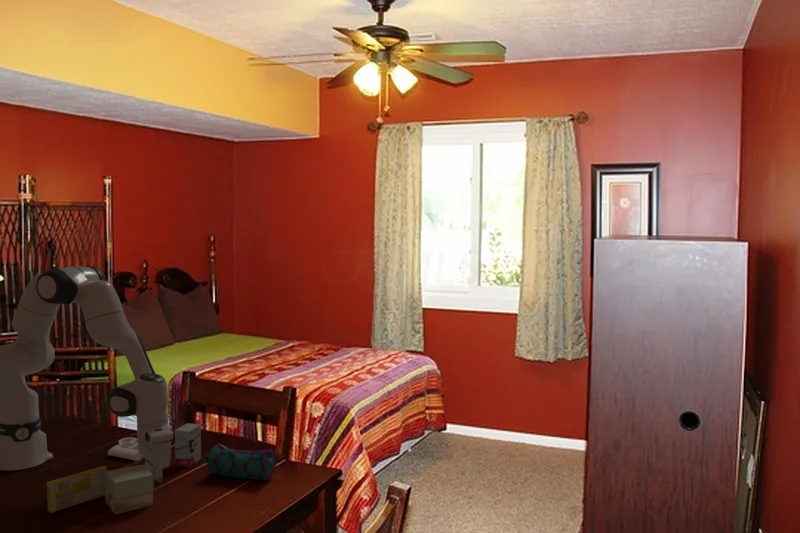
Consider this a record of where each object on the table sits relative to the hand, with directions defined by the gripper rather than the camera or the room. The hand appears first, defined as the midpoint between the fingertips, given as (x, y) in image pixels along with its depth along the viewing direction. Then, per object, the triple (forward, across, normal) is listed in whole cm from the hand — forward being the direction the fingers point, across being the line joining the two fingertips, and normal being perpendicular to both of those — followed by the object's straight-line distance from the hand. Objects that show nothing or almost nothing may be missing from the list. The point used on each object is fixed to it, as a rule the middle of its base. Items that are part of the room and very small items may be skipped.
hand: (153, 474), depth 206 cm
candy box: (+3, +4, -21) cm, 22 cm away
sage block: (-2, +12, -10) cm, 16 cm away
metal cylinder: (+2, 0, 0) cm, 2 cm away
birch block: (+3, +12, -10) cm, 16 cm away
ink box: (+3, -10, +14) cm, 17 cm away
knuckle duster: (+3, -29, +3) cm, 29 cm away
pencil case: (+3, +11, +23) cm, 26 cm away
